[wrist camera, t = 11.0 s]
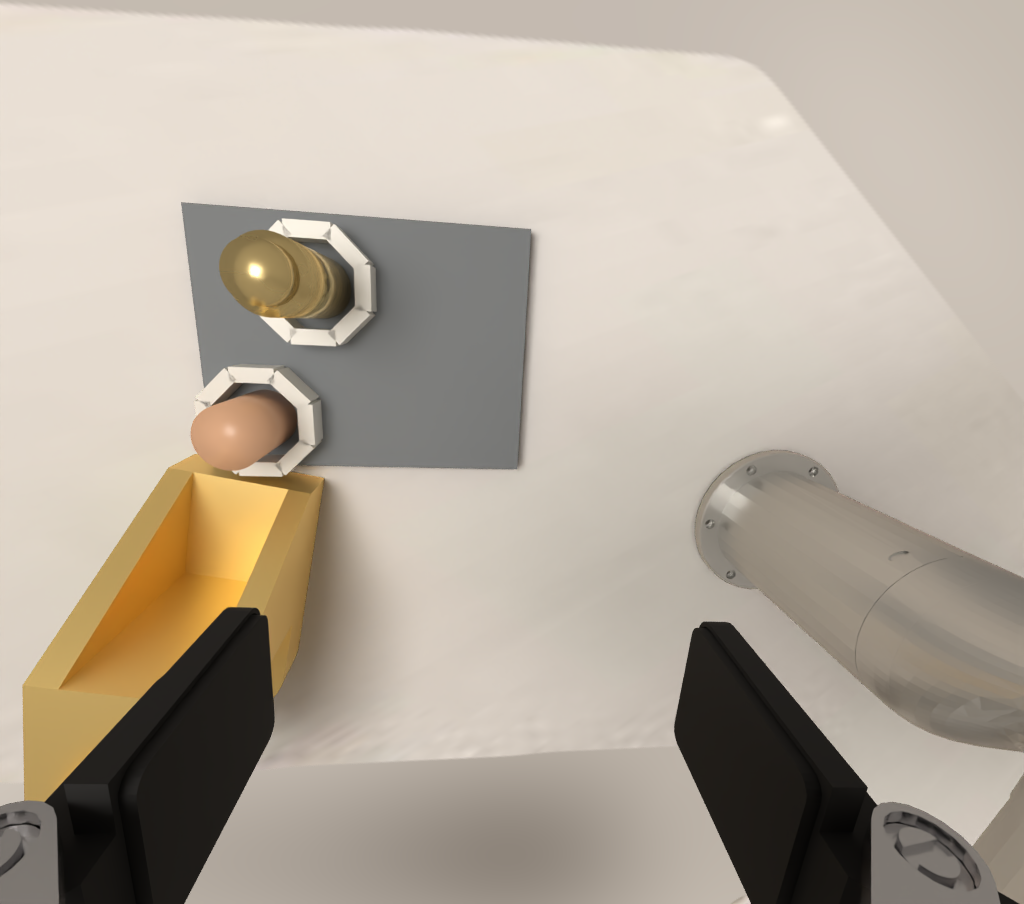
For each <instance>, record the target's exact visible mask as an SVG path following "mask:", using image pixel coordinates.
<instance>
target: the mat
mask: <svg viewBox="0 0 1024 904" xmlns="http://www.w3.org/2000/svg"><path fill="white" fill-rule="evenodd" d="M181 205H182V213H183V221H184V229H185V238H186V246H187V254H188V262H189V270H190V278H191V286H192V294H193V303H194V311H195V319H196V327H197V335H198V343H199V351H200V359H201V368H202V376H203V384H204V388H205V387H206V386H207V385H208V384H209V383H210V382H211V381H212V380H213V379H214V378H215V377H216V376H217V375H218V374H219V373H220V372H221V371H222V370H223V369H224V368H227V367H229V366H234V365H238V364H257V365H282V366H284V367H285V368H287V367H288V368H289V369H291V370H292V371H293V372H294V373H295V374H296V375H297V376H298V377H299V378H300V379H301V380H302V381H303V382H304V383H305V384H306V385H308V386H309V387H310V388H311V389H312V390H313V391H314V392H315V393H316V394H317V395H318V396H319V397H318V398H317V399H316V400H321V410H322V427H323V439H322V440H321V441H322V442H321V443H319V444H318V445H317V446H316V447H315V448H314V449H313V450H312V451H311V452H310V453H309V454H308V455H307V456H306V457H305V458H304V459H303V460H302V461H301V462H300V463H299V464H298V465H309V466H364V467H419V468H474V469H517V466H518V449H519V431H520V414H521V397H522V379H523V362H524V345H525V328H526V310H527V293H528V276H529V258H530V241H531V229H522V228H508V227H495V226H482V225H469V224H456V223H443V222H430V221H417V220H404V219H391V218H378V217H365V216H352V215H339V214H326V213H313V212H300V211H287V210H274V209H261V208H248V207H235V206H221V205H208V204H195V203H182V202H181ZM282 218H284V219H298V220H311V221H324V222H331V223H332V224H335V225H336V226H338V227H339V228H340V229H342V230H343V231H344V232H345V234H346V235H347V236H348V237H349V238H350V239H351V240H352V241H353V242H354V243H355V244H356V245H357V246H358V248H359V249H360V250H361V251H362V252H363V253H364V254H365V255H366V256H367V257H368V258H369V259H370V261H371V262H372V263H373V264H374V265H373V267H375V268H376V305H377V312H373V313H374V314H375V316H374V317H373V318H372V319H371V320H370V321H369V322H368V323H367V324H366V325H365V326H364V327H363V328H362V329H361V330H360V331H359V332H358V333H357V334H356V335H355V336H354V337H353V338H352V339H351V340H350V341H349V342H348V343H346V344H343V345H340V346H318V345H296V344H291V342H288V343H287V342H286V341H285V340H284V339H283V338H282V337H281V336H280V335H279V334H278V333H277V332H275V331H274V330H273V329H272V328H271V327H270V326H269V325H268V324H267V323H266V322H265V321H264V320H263V319H262V318H261V317H260V316H259V315H256V314H254V313H252V312H250V311H248V310H247V309H245V308H244V307H243V306H241V305H240V304H239V303H238V302H237V301H236V300H235V298H234V297H233V296H232V294H231V293H230V292H229V291H228V290H227V288H226V287H225V285H224V284H223V281H222V279H221V276H220V271H219V260H220V256H221V253H222V251H223V249H224V248H225V247H226V245H227V244H228V243H229V242H231V241H232V240H234V239H236V238H237V237H239V236H240V235H242V234H244V233H246V232H249V231H253V230H269V229H270V228H271V227H272V226H273V224H274V223H275V222H276V221H277V220H279V221H281V222H282ZM298 243H300V244H302V245H304V246H306V247H308V248H310V249H312V250H314V251H316V252H318V253H320V254H323V255H325V256H327V257H329V258H331V259H333V260H334V261H336V262H337V263H338V264H340V265H341V266H342V268H343V269H344V270H345V272H346V273H347V275H348V277H349V280H350V283H351V297H350V301H349V303H348V305H347V307H346V308H345V309H344V310H343V311H342V312H341V313H340V314H338V315H337V316H334V317H331V318H326V319H317V318H295V319H296V320H297V321H298V322H299V323H300V324H301V325H302V326H303V327H304V328H318V329H332V328H333V327H334V326H335V325H336V324H337V323H338V322H340V321H341V320H342V319H343V318H344V317H345V316H346V315H347V314H348V313H349V312H350V311H351V310H352V309H353V308H354V307H355V289H354V268H353V267H352V266H351V265H350V264H349V263H348V262H347V261H346V260H345V259H344V258H343V257H342V256H341V255H340V253H339V252H338V251H337V250H336V249H335V248H334V247H333V246H332V245H331V244H323V243H309V242H298ZM262 389H266V390H272V391H275V392H278V393H280V392H279V391H277V390H276V389H275V388H274V387H273V386H272V385H271V384H261V383H242V384H241V386H240V387H239V388H238V389H237V390H236V391H235V392H234V393H233V394H232V395H231V396H230V397H229V398H228V399H227V400H226V401H228V400H230V399H233V398H236V397H239V396H242V395H244V394H247V393H250V392H253V391H256V390H262ZM280 394H281V393H280ZM292 405H293V404H292ZM293 407H294V408H295V411H296V414H297V408H296V407H295V406H294V405H293ZM298 442H299V429H298V414H297V426H296V430H295V432H294V433H293V435H292V436H291V437H290V438H289V439H288V440H286V441H285V442H284V443H282V444H281V445H279V446H278V447H276V448H275V449H274V450H272V451H271V452H269V453H268V454H282V455H285V454H286V453H287V452H288V451H289V450H291V449H292V448H293V447H294V446H295V445H296V444H297V443H298Z"/></svg>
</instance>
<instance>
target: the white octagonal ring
mask: <svg viewBox="0 0 1024 904" xmlns="http://www.w3.org/2000/svg"><path fill="white" fill-rule="evenodd" d="M269 231H273V232H276V233H279V234H281V235H283V236H285V237H287V238H289V239H291V240H294V241H296V242H309V243H323V244H331V245H332V246H333V247H334V248H335V249H336V250H337V251H338V252H339V253H340V255H341V256H342V257H343V258H344V259H345V260H346V261H347V262H348V263H349V264H350V265H351V266H352V267H353V268H354V289H355V307H354V308H353V309H352V310H351V311H350V312H349V313H348V314H347V315H346V316H345V317H344V318H343V319H342V320H341V321H340V322H338V323H337V324H336V325H335V326H334V327H333V328H332V329H318V328H304V327H303V326H302V325H301V324H300V323H299V322H298V321H297V320H296V319H295V318H269V317H263V316H260V317H261V318H262V319H263V320H264V321H265V322H266V323H267V324H268V325H269V326H270V327H271V328H272V329H273V330H274V331H275V332H277V333H278V334H279V335H280V336H281V337H282V338H283V339H284V340H285V341H286V342H287V343H288V342H291V344H296V345H318V346H340V345H343V344H346V343H348V342H349V341H350V340H351V339H352V338H353V337H354V336H355V335H356V334H357V333H358V332H359V331H360V330H361V329H362V328H363V327H364V326H365V325H366V324H367V323H368V322H369V321H370V320H371V319H372V318H373V317H374V316H375V314H374V313H373V312H377V305H376V268H375V267H373V265H374V264H373V263H372V262H371V261H370V259H369V258H368V257H367V256H366V255H365V254H364V253H363V252H362V251H361V250H360V249H359V248H358V246H357V245H356V244H355V243H354V242H353V241H352V240H351V239H350V238H349V237H348V236H347V235H346V234H345V232H344V231H343V230H342V229H340V228H339V227H338V226H336V225H335V224H332V223H331V222H324V221H311V220H298V219H284V218H282V222H281V221H279V220H277V221H276V222H275V223H274V224H273V226H272V227H271V228H270V229H269Z"/></svg>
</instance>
